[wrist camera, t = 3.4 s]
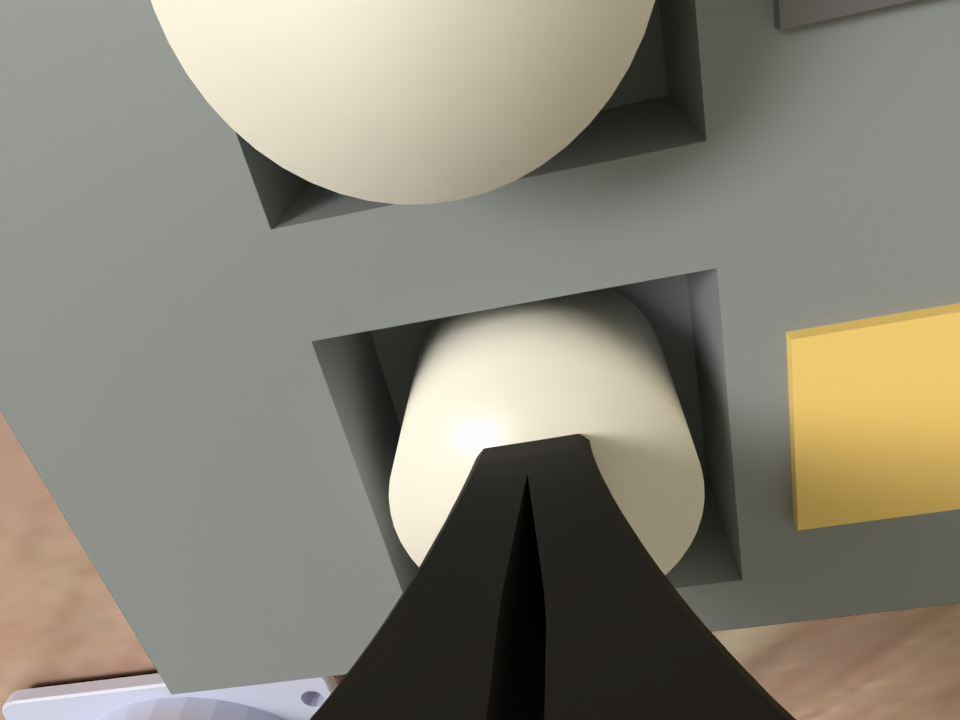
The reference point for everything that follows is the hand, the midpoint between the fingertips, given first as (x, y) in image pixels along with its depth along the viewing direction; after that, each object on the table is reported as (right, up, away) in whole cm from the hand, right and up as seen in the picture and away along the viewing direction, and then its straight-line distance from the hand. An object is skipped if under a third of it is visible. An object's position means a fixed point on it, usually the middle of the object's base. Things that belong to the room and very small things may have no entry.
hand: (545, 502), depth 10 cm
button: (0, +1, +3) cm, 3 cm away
